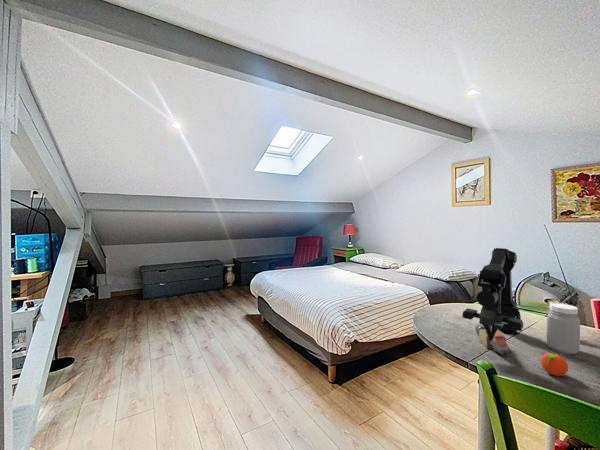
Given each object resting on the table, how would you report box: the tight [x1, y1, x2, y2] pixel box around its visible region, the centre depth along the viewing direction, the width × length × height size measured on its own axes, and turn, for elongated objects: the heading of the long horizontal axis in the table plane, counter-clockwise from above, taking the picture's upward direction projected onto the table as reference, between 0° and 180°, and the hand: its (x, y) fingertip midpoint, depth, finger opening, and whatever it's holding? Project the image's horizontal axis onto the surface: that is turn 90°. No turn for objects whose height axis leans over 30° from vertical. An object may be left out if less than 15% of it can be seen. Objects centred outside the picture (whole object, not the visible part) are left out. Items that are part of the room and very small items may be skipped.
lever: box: [485, 327, 507, 347], centre depth 109 cm, size 16×4×3 cm, turn 159°
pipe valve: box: [474, 324, 511, 356], centre depth 114 cm, size 20×6×6 cm, turn 170°
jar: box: [546, 302, 581, 355], centre depth 110 cm, size 10×10×18 cm
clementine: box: [540, 352, 569, 377], centre depth 93 cm, size 8×7×7 cm
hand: (491, 340), depth 105 cm, fingers closed
